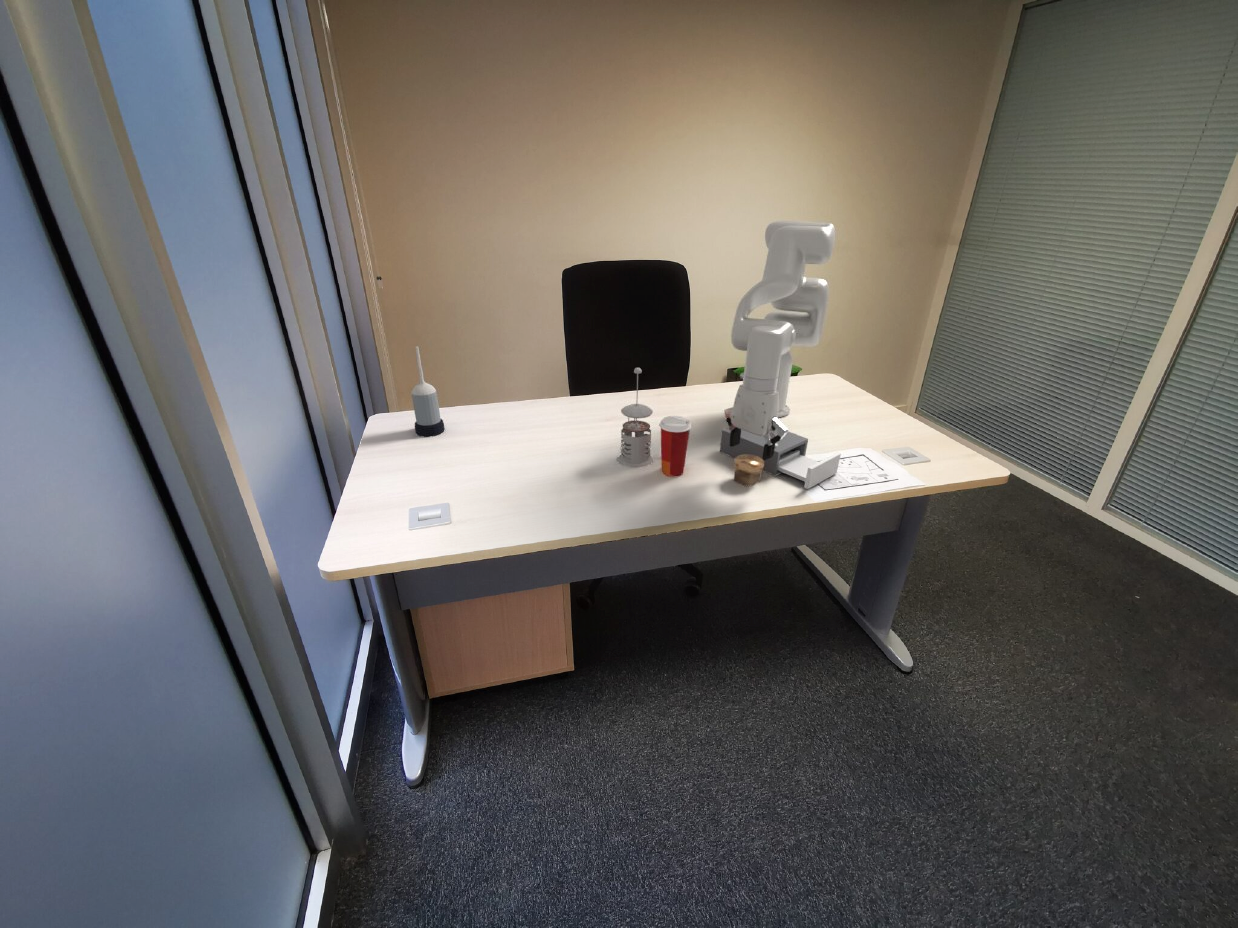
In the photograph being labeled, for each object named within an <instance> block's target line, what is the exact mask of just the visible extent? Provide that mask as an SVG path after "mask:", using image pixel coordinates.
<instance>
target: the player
mask: <svg viewBox="0 0 1238 928" xmlns="http://www.w3.org/2000/svg"><path fill="white" fill-rule="evenodd" d="M774 432H775V434H776V436H777V434H778V430H777V429H776V430H775V431H774ZM730 434H731V431H730V430H729V426H728V427H726V428H724V429H722V430H721V437H720V446H719V452H720V453H722V454H725V455H726V456H729V457H731V458H734V459H735V458H736V457H737V456H739V455H744V454H748V455H755V456H758V457H760V458H762V457H763V450H764V445H765V444H767V442H766V440H765V438H764V436H759V435H756V434H753V433H750V432H747V431H745V430H742V429H741V437H740V444H738V445H735V446H733V447H731V446H730ZM769 435H770V434H769ZM770 438H771V436H770ZM771 439H772V438H771ZM808 442H809V438H807V437H804V436H801V435H799V434H797V433H793V432H790V431H788V432H787V434H786V435H785V436H784V438H783V439H782V440H780V441H778V442H777V443H775V450H774V455H773V456H772V458H770V459H767V460H764V468H763V472H765V473H768V474H770V475H773V476H774V477H776V476H778V475H780V474H782V473H783V472H781V471H779V470H778V465H779V459H780V455H781V454H783V453H785V452H787V451H789V450H790V451H793V452H794V451H796V450H799V451H800V455H803V456H805V457H806V454H807V449H808V444H809V443H808Z"/></svg>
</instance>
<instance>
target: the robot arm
mask: <svg viewBox="0 0 1238 928" xmlns="http://www.w3.org/2000/svg"><path fill="white" fill-rule="evenodd" d="M764 239H765V240H764V241H765V244H766V247H767V250H768V251H767V254H766V260H765V266H764V269H763V273H762V274H763V275H762V279H761V280H760V281H759V282H757V283H756V284H754V285H753V286H752V287H750V289H749V290H748V291H747V292H746V293H745V294H743V295H744V296H743V297H742V298H741V299H740V301H739V302H738V305H737V307H736V310H735V314H734V318H733V319H734V320H733V324H732V328H731V333H730V341H731V342H730V343H731V344H732V347H733V348H734V349H736V350H737V351H740V352H746V355H745V363H744V370H743V372H741V373H740V374H739V378H740V379H742V384H740V385H739V386H738V388H737V392H736V394H735V397H734V401H733V406H732V407H728V408H726V409H724V410H723V411H724V416H725V422H726V423H727V426H728V427H729V430H730V431H731V434H730V446H731V447H733V446H735V445H738V444H740V437H741V429H742V430H745V431H747V432H750V433H753V434H756V435H759V436H764V438H765V440H766V442H767V444H765V445H764V450H763V457H762V459H763V460H767V459H770V458H772V456H773V455H774V450H775V443H777V442H778V441H780V440H782V439H783V438H784V436H785V435H786V434H787V432H789V429H788V428H787V427H786V426H785V425H784V424H783V423H782V422H781V421H780V420H779V418H782V417H786V416H788V415H789V414H790V412H791V409H790V407H789V406H788V405H787V398H788V392H789V387H790V380H791V374H792V367H793V361H794V360H793V355H792V352H791V351H790V350H791V349H792V348H793V347H794V346H800V347H802V346H803V347H814V346H817V345H818V344H819V343H820V341H821V340H822V337H823V331H824V327H825V321H826V315H827V309H828V306H829V305H828V304H829V303H828V302H829V298H830V297H829V296H830V287H829V283H828V281H826V280H825V279H823V278H820V277H806V276H805V270H806V265H825V264H827V263H828V261H830V259H831V256H832V255H833V252H834V251H833V250H834V246H835V242H836V228H835V226H834V224H832V223H831V222H822V221H821V222H819V221H816V222H815V221H799V220H798V221H795V220H777V221H772V222H770V223H769V224H768V225H767V227H766V228H765V232H764ZM767 304H771V307H772V308H774V309H775V311H770V312H769V313H767V314H766V315H765V316H764V318H753V317H751V318H750V317H749V315H750V314H751V313H752V312H753V311H755V309H757V308H759V307H761V306H763V305H767ZM776 429H777V430H778V434H777V436H776V434H775V432H774V431H775V430H776ZM769 434H770V435H769ZM770 436H771V438H772V439H771V438H770Z"/></svg>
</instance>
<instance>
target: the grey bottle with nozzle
mask: <svg viewBox="0 0 1238 928" xmlns="http://www.w3.org/2000/svg"><path fill="white" fill-rule="evenodd" d="M415 353H416V359H417V360H416V361H417V367H418V372H419V383H418V384H416V385H415V386H414V387H413V388H412V390H411V399H412V404H413V410H414V415H415V416H414V417H415V423H414V431H415V434H417V436H419V437H421V436H424V437H423V438H430V436H432V437H436V436H440V435H441V433H442V434H443V433H444V432H445V431H446V430H445V429H446V428H445V422H444V420H443V419H442V418H441V413H440V407H439V406H440V405H439V400H438V399H439V398H438V394H437V393H438V392H437V389H436V388H435V387H434V386H433V385H432V384H430V383H428V382H426V381H425V380H424V372H423V367H422V361H421V360H422V359H421V355H420V350H419V346H415ZM444 430H445V431H444Z"/></svg>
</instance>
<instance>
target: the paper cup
mask: <svg viewBox="0 0 1238 928" xmlns="http://www.w3.org/2000/svg"><path fill="white" fill-rule="evenodd" d="M658 426H659V428H660V463H661V467H660V468H661V469H660V470H661V473H662V474H663V475H664V476H666V477H668V478H669V477H671V478H678V477H681V476H682V475H684V472H685V466H686V465H685V464H686V458H687V451H688V443H689V438H690V431H691V428H692V425H691V422H690V420H689V419H688V417H687V418H686V417H684V416H680V415H669V416H668V415H667V416H666V417H664V418H662V419H661V421H660V422H659V424H658Z"/></svg>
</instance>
